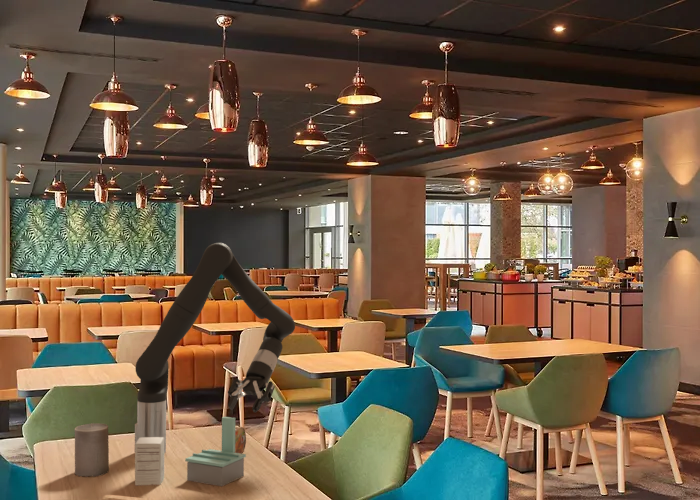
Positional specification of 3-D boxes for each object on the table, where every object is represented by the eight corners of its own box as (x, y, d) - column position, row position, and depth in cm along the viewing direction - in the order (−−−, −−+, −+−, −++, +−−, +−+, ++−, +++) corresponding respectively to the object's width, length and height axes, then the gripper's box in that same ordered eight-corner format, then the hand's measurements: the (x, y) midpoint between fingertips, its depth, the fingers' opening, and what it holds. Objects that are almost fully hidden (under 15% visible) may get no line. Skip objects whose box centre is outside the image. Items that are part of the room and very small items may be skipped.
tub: (187, 483, 220) (187, 462, 220) (209, 473, 230) (210, 453, 230) (221, 488, 215) (222, 467, 215) (243, 478, 225) (243, 458, 225)
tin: (231, 461, 243) (231, 435, 243) (221, 461, 244) (221, 434, 244) (246, 449, 258) (247, 424, 258) (237, 449, 258) (238, 424, 258)
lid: (185, 461, 220) (185, 423, 220) (211, 450, 232) (212, 415, 232) (222, 467, 214) (222, 428, 215) (247, 456, 226) (247, 419, 226)
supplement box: (138, 480, 222) (139, 436, 222) (164, 479, 223) (165, 436, 223) (133, 488, 215) (134, 443, 215) (160, 487, 216) (161, 442, 216)
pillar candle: (99, 466, 237) (99, 417, 237) (114, 472, 230) (114, 422, 230) (68, 472, 230) (68, 422, 230) (83, 479, 223) (83, 428, 223)
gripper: (238, 358, 246) (217, 400, 235) (277, 361, 240) (257, 404, 229) (247, 372, 251) (227, 414, 240) (285, 376, 245) (266, 418, 234)
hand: (242, 409), depth 235 cm, fingers open, 8 cm apart
